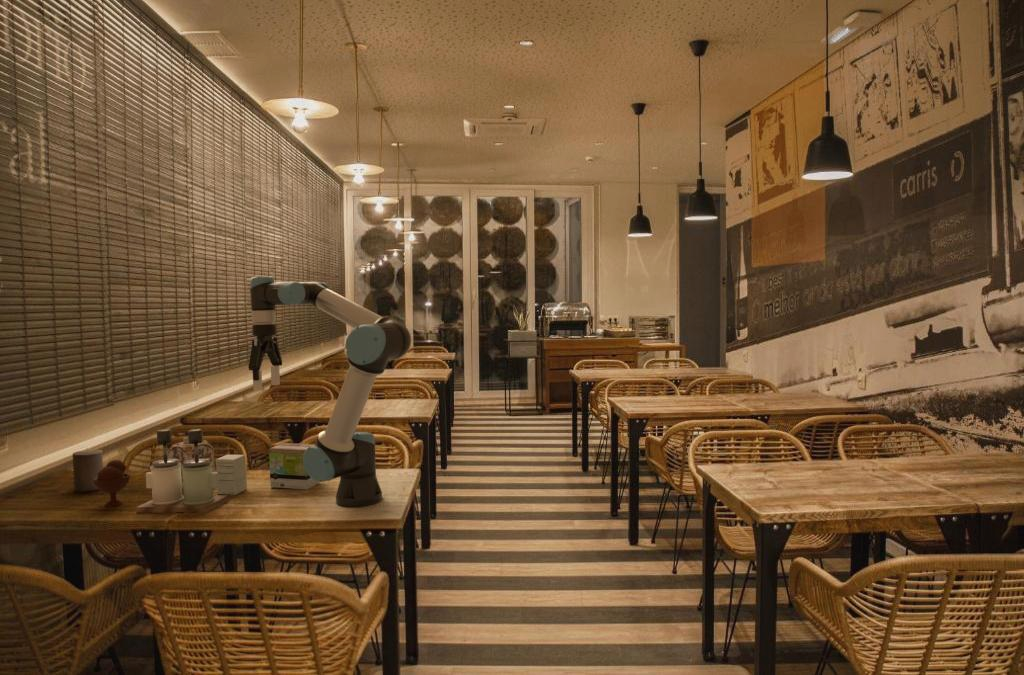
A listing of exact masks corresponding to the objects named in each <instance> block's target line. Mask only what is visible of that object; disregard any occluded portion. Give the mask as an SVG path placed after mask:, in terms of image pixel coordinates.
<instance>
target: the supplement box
mask: <svg viewBox="0 0 1024 675" xmlns="http://www.w3.org/2000/svg"><path fill="white" fill-rule="evenodd" d="M246 462H247V461H246V455H245V454H225V455H223V456H221V457H219V458H216V459H215V465H216V466H215V471H216V472H218V479H219V487H218V488H217V494H218V495H232V496H233V495H236V496H237V495H238V494H239V493H242V492H244V491H246V490H247V489H248V484H247V465H246Z"/></svg>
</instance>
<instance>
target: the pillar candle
mask: <svg viewBox="0 0 1024 675" xmlns="http://www.w3.org/2000/svg"><path fill="white" fill-rule="evenodd" d="M103 455H104V453H103V450H102V449H84V450H79V451H78V450H77V451H74V452H73V453H72V470H73V471H72V474H73V486H74V492H76V493H85V492H94V491H97V490H98V491H99V490H100V489H98V488H97V487H96V486H95V484H94V481H93V479H95V478H96V477H98V472H99V471H100V470H102V469H103V468H104V459H103V458H104V457H103Z"/></svg>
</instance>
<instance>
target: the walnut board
mask: <svg viewBox="0 0 1024 675" xmlns="http://www.w3.org/2000/svg"><path fill="white" fill-rule="evenodd" d="M182 496H183V497H184V494H182ZM213 496H214V498H215V500H214V501H212V502H210V503H206V504H201V505H184V504H183V500H184V499H183V500H182V501H180V502H178V503H174V504H168V505H154V504H152V500H153V499H150V500H149V501H146V502H144V503H141V504H140V505H138V506H136V513H147V514H151V513H152V514H153V513H154V514H155V513H156V514H158V513H161V514H162V513H167V514H171V513H173V514H175V513H176V512H184V513H185V514H208V513H209V512H211V511H213V510H214V509H217V508H218V507H220V506H221V505H223V504H225V503H227V502H228V501H229V494H218V495H215V494H213ZM176 514H177V513H176Z"/></svg>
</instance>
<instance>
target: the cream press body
mask: <svg viewBox="0 0 1024 675" xmlns="http://www.w3.org/2000/svg"><path fill="white" fill-rule="evenodd" d="M149 470H150V471H148V472H146V473H145V485H146V489H151V490H152V491H151V492H152V495H151V496H152V499H151V500H152V504H154V505H168V504H174V503H178V502H180V501H182V500H183V499H184V497H183V496H182V495H183V489H182V478H181V463H178V464H175V465H171V466H164V467H155V466H152V465H150V467H149Z"/></svg>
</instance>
